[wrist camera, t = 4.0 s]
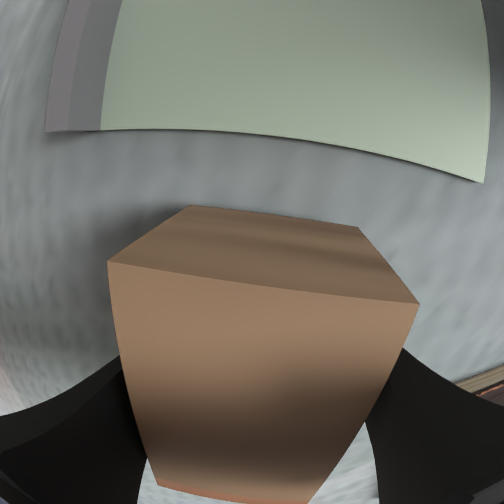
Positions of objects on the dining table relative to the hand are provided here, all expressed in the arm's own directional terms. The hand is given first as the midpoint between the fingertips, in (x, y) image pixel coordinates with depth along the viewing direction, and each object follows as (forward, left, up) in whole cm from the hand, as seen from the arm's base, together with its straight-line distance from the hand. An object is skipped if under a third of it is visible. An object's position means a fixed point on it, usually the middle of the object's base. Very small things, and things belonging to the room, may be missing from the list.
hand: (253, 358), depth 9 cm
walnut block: (0, 0, -1) cm, 1 cm away
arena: (0, -15, -2) cm, 15 cm away
